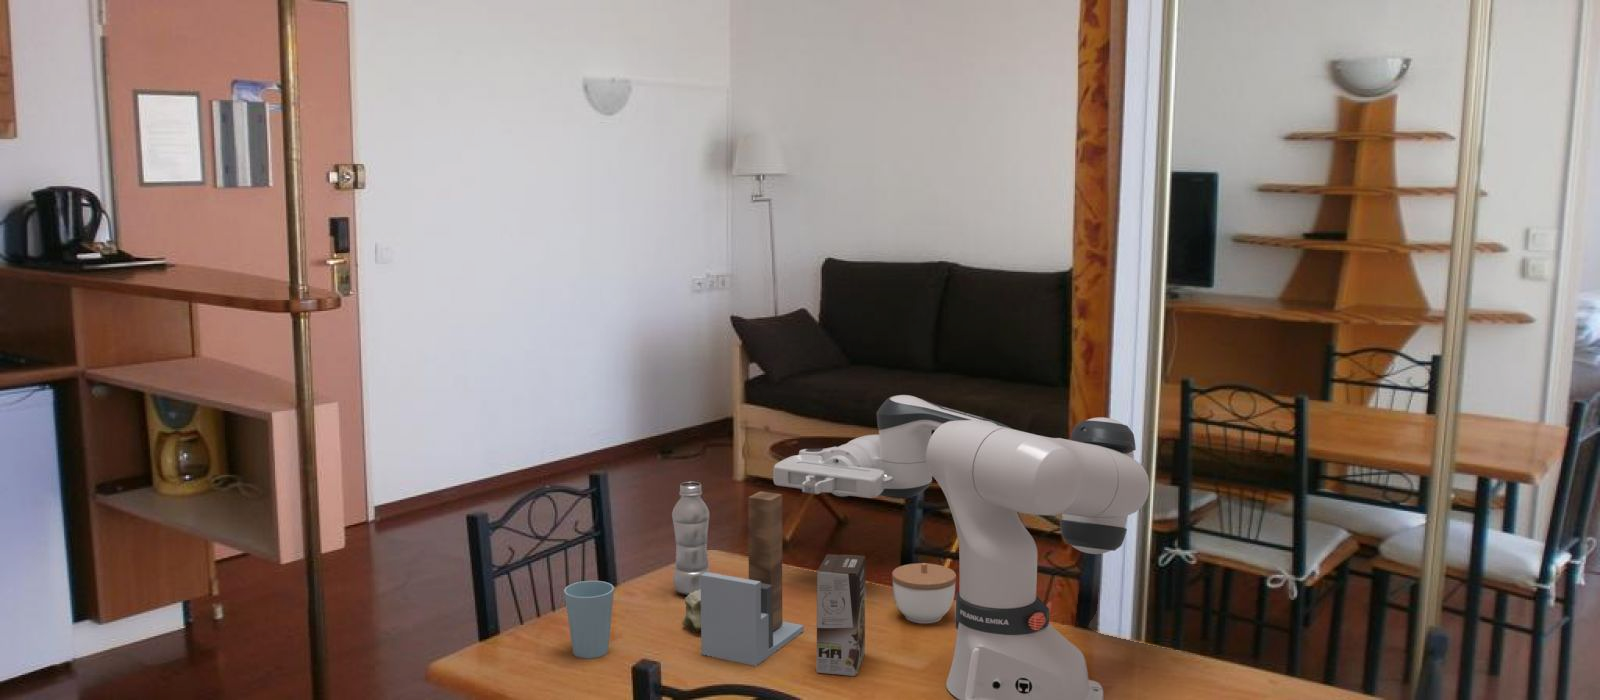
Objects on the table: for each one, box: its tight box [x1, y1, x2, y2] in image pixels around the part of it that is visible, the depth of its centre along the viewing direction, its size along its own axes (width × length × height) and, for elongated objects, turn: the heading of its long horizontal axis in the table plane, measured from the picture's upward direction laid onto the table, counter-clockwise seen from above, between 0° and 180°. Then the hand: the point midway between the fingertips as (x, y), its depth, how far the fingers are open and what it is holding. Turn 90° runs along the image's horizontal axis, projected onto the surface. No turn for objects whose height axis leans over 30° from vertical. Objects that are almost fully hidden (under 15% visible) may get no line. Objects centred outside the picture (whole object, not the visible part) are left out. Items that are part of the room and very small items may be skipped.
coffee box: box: [815, 553, 867, 677], centre depth 192 cm, size 9×6×16 cm
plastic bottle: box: [671, 481, 711, 596], centre depth 222 cm, size 6×7×20 cm
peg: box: [747, 491, 783, 631], centre depth 202 cm, size 4×4×22 cm
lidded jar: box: [891, 562, 957, 625], centre depth 211 cm, size 11×11×9 cm
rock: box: [682, 589, 701, 634], centre depth 207 cm, size 9×9×8 cm
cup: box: [563, 580, 615, 659], centre depth 196 cm, size 8×8×10 cm
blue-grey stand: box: [700, 572, 805, 667], centre depth 200 cm, size 10×16×13 cm, turn 153°
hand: (809, 488), depth 215 cm, fingers closed
